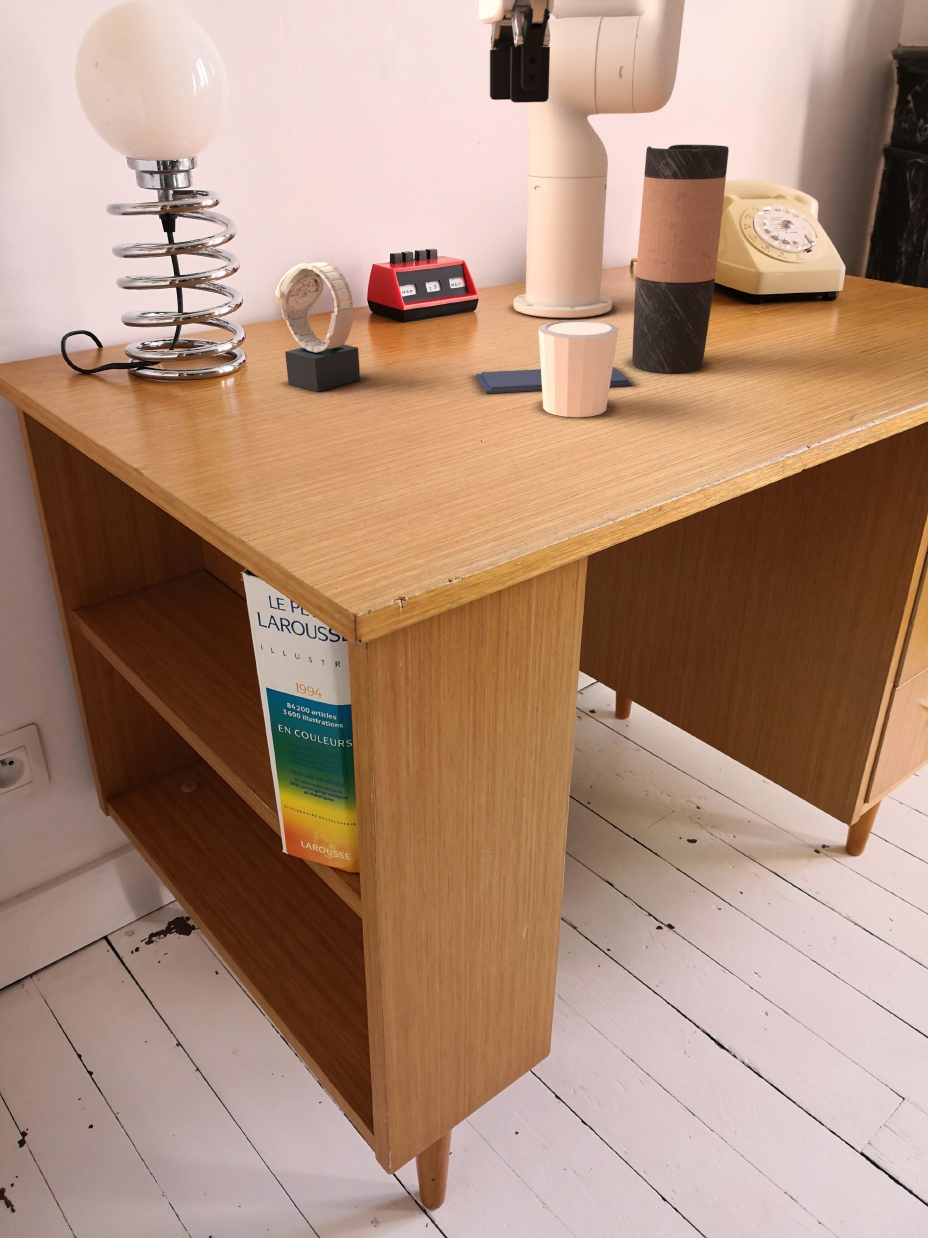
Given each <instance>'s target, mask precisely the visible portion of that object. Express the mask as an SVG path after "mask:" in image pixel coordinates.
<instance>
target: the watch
mask: <svg viewBox="0 0 928 1238" xmlns="http://www.w3.org/2000/svg"><path fill="white" fill-rule="evenodd" d="M324 281H325V282H324ZM325 284H326V285H327V287H328V288H329V290H330V294H331V296H332V298H333V312H332V313H331V316H330V321H329V326H328V330H327V333H326V335H325V338H324V341H322V340H321V339H320V338H318V337H317V335H316V334H315V332H314V331H313V330H312V327H311V325H310V322H308V321H309V320H308V317H309V316H310V315H311V313H312V310H313V307H314V305H315V304H316V303H317V301H318V300H319V298H320V297H321V295H322V293H323V290H324V287H325V286H324V285H325ZM351 291H352V290H351V288H350V285H349V283H348V280H347V279H346V276H344V274H343V272H342V271H341V270H340V269H339V268H338V267H337V266H336V265H334V264H333V263H330V262H328V261H318V262H313V263H308V262H303V263H299V264H296V265H295V266H293V267H291V268H290V269H289V270H288V271H287V272H286V273H285V274H284V275H283V276H282V277H281V278H280V280H279V282H278V284H277V287H276V290H275V292H274V295H275V300H276V302H277V304H278V305H279V309H280V312H281V317H282V319H283V320H284V321H285V322H286V325H287V327H288V330H289V332H290V333H291V335H292V336H293V339H294V340H295V341H296V342H297V343H298V344H299V346H300V347H298V348H295V349H291V350H290V349H289V350H285V352H284V353H285V363H286V375H287V383H288V385H291V386H295V387H299V388H303V389H306V390H310V391H314V392H316V393H318V392H321V391H325V390H329V389H332V388H335V387H339V386H342V385H347V384H350V383H354V382H356V381H361V371H360V355H359V354H360V353H359V347H358V346H357V347H356V346H353V345H349V344H346V343H347V340H348V338H349V336H350V333H351V331H352V326H353V322H354V318H355V317H354V316H355V309H354V299H353V295H352V292H351Z"/></svg>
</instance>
